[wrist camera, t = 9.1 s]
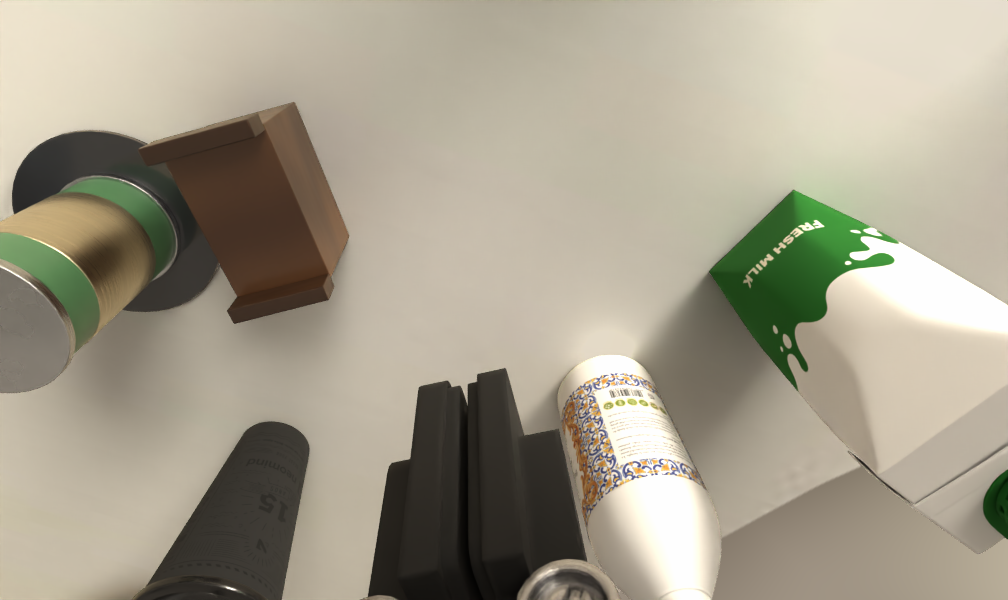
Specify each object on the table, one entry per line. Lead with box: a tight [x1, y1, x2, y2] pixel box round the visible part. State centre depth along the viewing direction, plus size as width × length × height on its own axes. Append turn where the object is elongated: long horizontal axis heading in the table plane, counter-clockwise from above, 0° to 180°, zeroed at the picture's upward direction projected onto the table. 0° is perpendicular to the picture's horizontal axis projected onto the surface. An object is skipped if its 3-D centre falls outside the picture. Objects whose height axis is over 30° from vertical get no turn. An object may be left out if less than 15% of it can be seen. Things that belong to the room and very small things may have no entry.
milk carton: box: [709, 190, 1008, 554], centre depth 29 cm, size 9×9×20 cm
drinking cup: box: [132, 422, 309, 600], centre depth 33 cm, size 8×8×20 cm
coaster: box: [12, 130, 219, 312], centre depth 33 cm, size 11×11×1 cm
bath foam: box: [557, 355, 722, 600], centre depth 33 cm, size 7×7×20 cm
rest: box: [138, 102, 349, 324], centre depth 30 cm, size 9×5×7 cm, turn 14°
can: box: [0, 173, 181, 393], centre depth 28 cm, size 7×12×13 cm
